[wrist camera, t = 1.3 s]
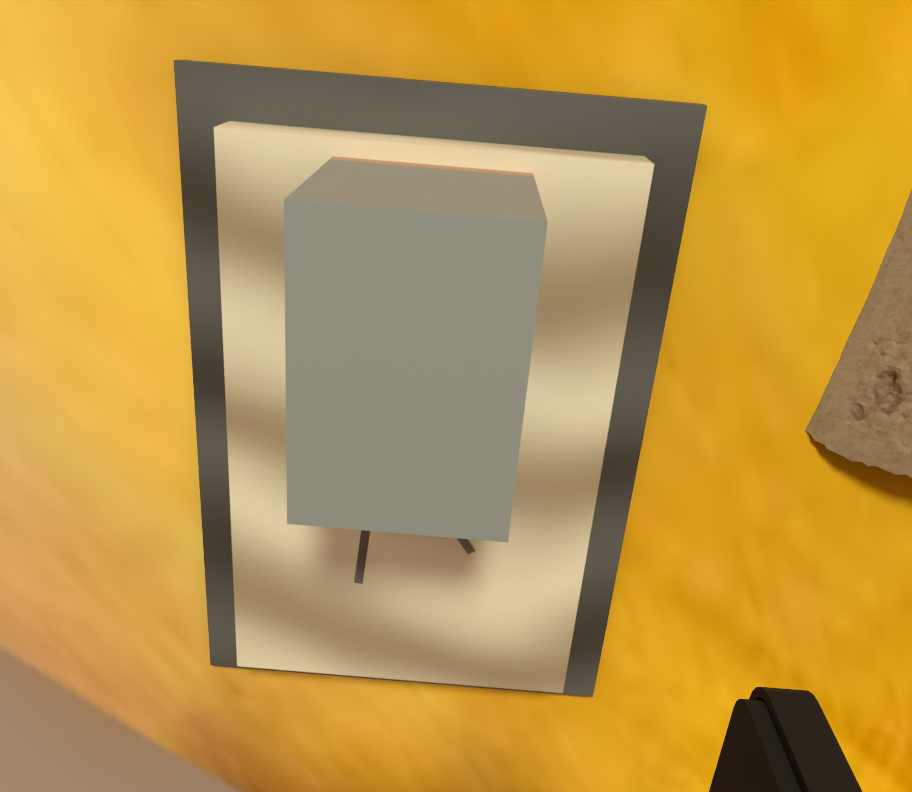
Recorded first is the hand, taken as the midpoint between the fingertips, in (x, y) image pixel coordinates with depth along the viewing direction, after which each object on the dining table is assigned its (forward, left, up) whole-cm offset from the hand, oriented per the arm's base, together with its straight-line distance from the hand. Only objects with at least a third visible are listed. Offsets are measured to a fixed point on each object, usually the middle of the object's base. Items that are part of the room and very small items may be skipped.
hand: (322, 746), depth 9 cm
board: (0, +5, -18) cm, 19 cm away
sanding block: (0, 0, -16) cm, 16 cm away
